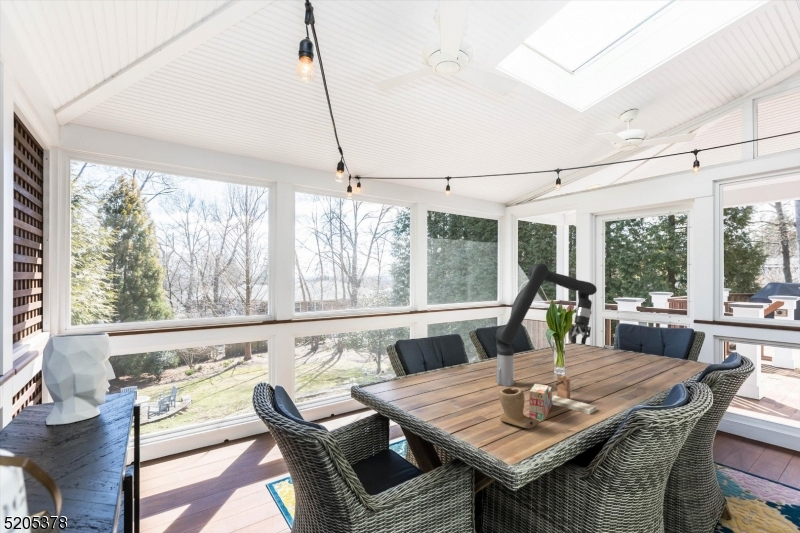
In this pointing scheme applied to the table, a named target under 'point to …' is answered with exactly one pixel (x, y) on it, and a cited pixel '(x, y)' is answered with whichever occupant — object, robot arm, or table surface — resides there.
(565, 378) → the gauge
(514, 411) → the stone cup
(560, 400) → the board
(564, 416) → the table surface
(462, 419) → the table surface
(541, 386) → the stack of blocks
